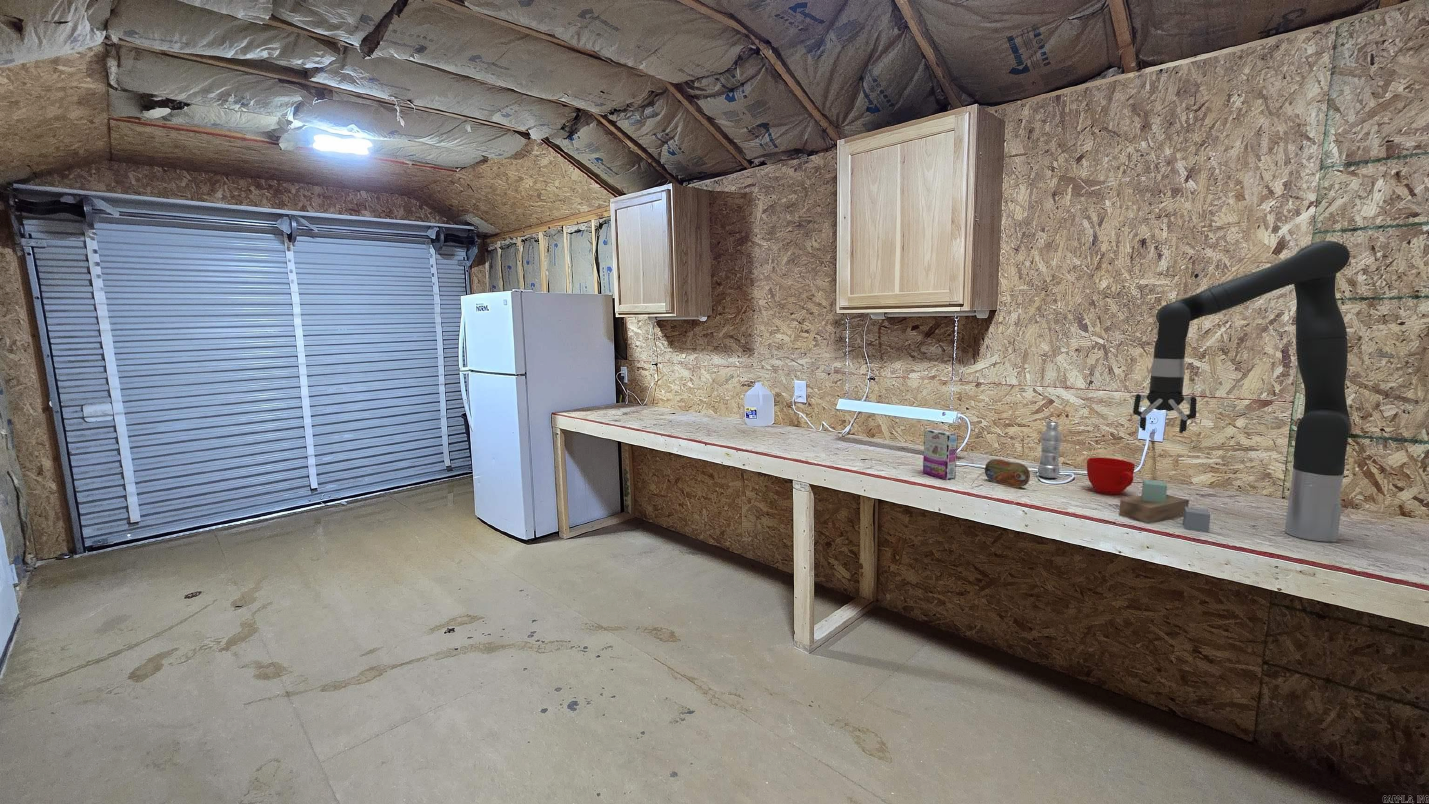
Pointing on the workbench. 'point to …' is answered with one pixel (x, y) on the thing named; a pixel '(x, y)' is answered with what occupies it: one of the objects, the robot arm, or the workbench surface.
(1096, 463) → the ceramic cup
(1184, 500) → the walnut block
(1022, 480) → the tin
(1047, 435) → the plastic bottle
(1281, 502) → the workbench surface
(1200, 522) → the slate cube
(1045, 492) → the workbench surface
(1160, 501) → the green cube
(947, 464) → the candy bar box
